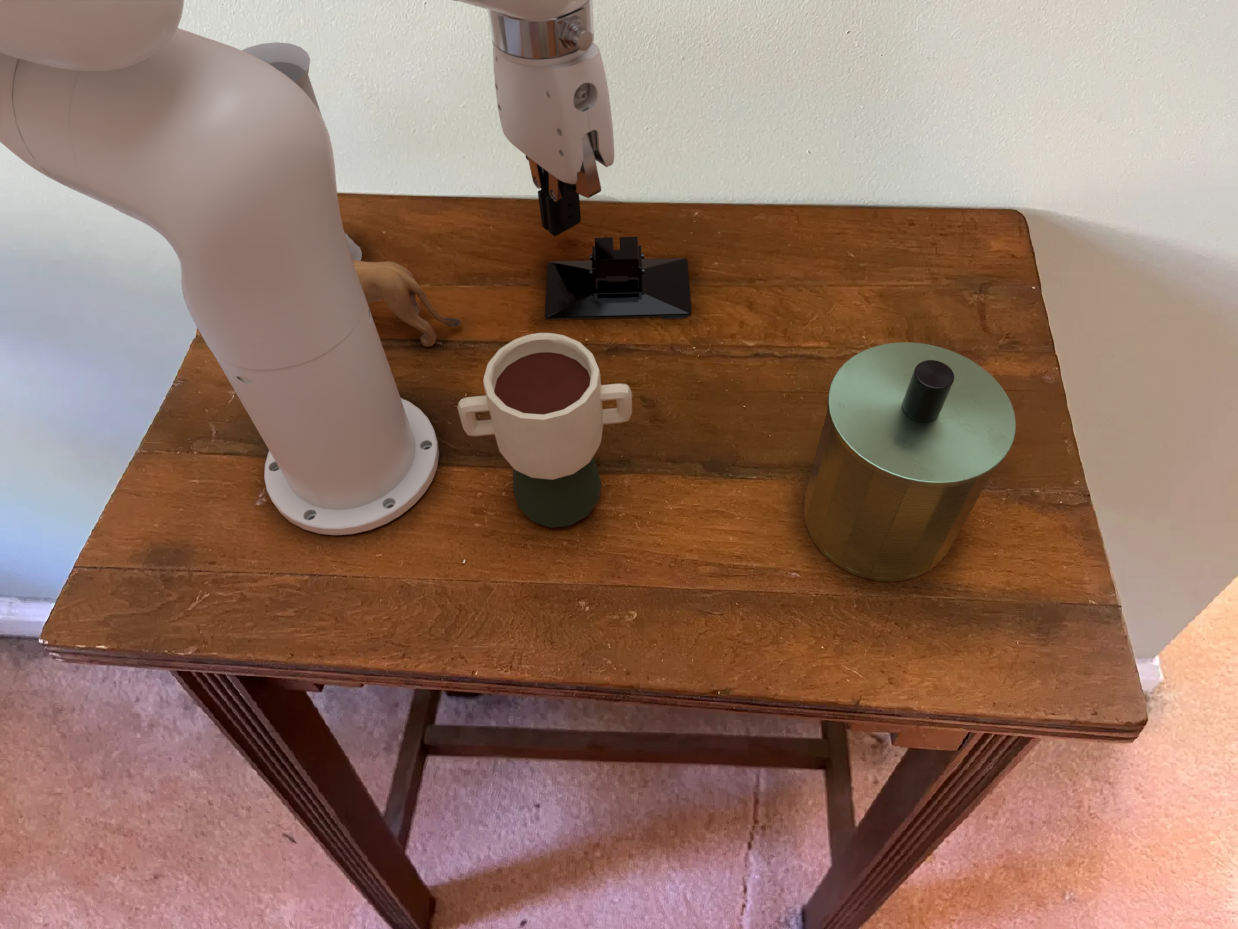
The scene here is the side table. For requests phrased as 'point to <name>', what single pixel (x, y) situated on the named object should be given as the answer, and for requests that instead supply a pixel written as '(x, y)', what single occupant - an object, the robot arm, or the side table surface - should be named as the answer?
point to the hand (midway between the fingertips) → (561, 225)
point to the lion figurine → (399, 295)
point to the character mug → (548, 423)
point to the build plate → (618, 285)
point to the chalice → (296, 68)
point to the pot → (880, 515)
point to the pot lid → (921, 414)
